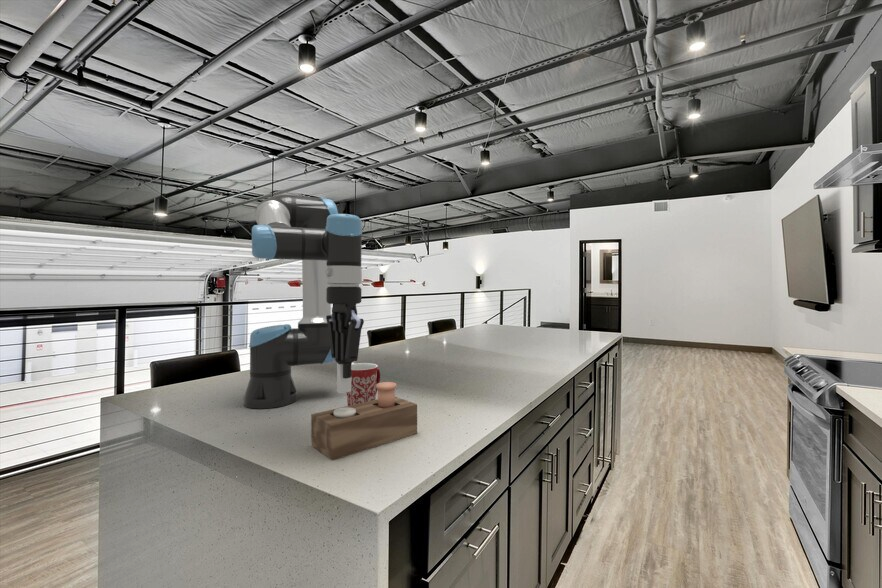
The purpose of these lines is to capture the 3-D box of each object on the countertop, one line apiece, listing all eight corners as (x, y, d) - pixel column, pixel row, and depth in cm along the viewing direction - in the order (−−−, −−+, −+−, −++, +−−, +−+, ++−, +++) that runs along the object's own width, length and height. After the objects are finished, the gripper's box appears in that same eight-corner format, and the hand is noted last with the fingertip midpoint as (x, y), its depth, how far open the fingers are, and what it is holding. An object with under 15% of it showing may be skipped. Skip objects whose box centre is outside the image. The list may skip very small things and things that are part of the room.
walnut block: (311, 445, 87) (311, 414, 86) (393, 422, 101) (393, 395, 101) (332, 460, 79) (332, 425, 79) (417, 433, 94) (417, 404, 94)
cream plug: (329, 440, 87) (329, 410, 87) (349, 434, 90) (349, 406, 90) (340, 446, 83) (339, 415, 83) (360, 440, 86) (359, 410, 86)
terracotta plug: (372, 411, 94) (372, 384, 94) (389, 407, 97) (388, 381, 97) (383, 416, 90) (383, 388, 90) (400, 412, 94) (400, 384, 94)
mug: (363, 422, 102) (363, 370, 102) (337, 416, 106) (337, 367, 106) (392, 409, 113) (391, 362, 113) (367, 404, 117) (367, 359, 117)
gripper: (315, 285, 88) (315, 388, 89) (342, 286, 79) (342, 401, 79) (345, 285, 93) (345, 383, 94) (374, 286, 84) (374, 395, 84)
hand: (344, 391), depth 87 cm, fingers closed
